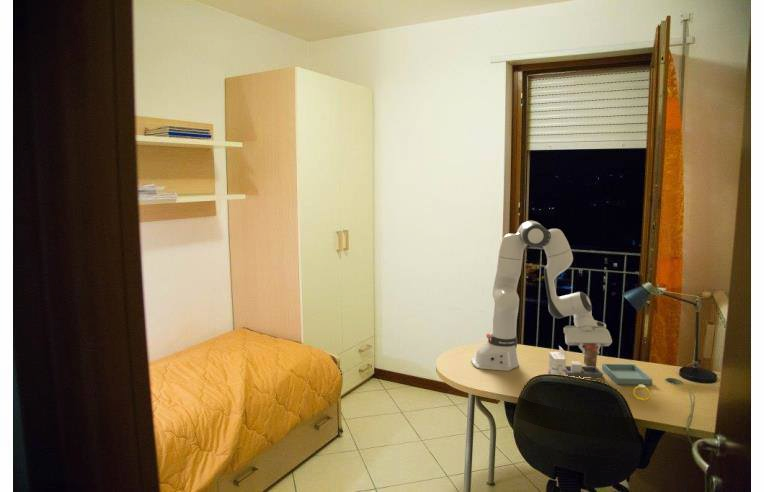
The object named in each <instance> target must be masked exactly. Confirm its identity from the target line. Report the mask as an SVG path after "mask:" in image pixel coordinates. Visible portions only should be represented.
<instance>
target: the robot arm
mask: <svg viewBox="0 0 764 492" xmlns="http://www.w3.org/2000/svg"><path fill="white" fill-rule="evenodd" d="M500 242H501V243H500V247H499V249H498V251H499V252H498V256H497V267H496V274H495V278H494V282H493V287H492V298H493V300H494V302H493V303H494V308H493V317H492V318H493V319H492V334H491V333H489V332H488V333H486V334H485V335H486V336H485V337H486V338H487V342H485V343H484V344H482V345H481V346H479V347H478V348H477V350H476V354H475V355H473V356H472V357H471V362H470V363H471V364H472V366H474V367H475V368H477V369H482V370H485V369H486V370H494V371H505V372H510V371H511V370H512V369H515V368H517V367H518V366H520V364H519V361H518V353H517V346H518V336H517V323H518V321H517V319H518V315H519V314H518V313H519V309H520V308H519V306H520V297H519V294H518V292H517V289H518V283H519V280H520V276H521V274H522V273H521V272H522V266H523V258H524V251H525V249H526V248H527V246H529V247H533V248H535V247H536V248H537V247H542V249H543V250H544V253H545V255H546V260H547V261H546V263H547V264H546V265H545V266H544V269H543V274H544V275H543V277H544V283H545V290H546V297H547V304H548V305H547V306H548V312H549V314H550V315H551V316H552V317H553V318H555V319H558V320H559V319H562V318H565V317H568V316H572V317H573V323H574V325H565V326H564V327H563V334H564V340H565V341H564V342H565V344H566V345H567V346H578V348H579V349H580V350H581V351H582V355H585V354H587V349H585V344H594V345H595V346H596V347H597V348H598V349H597V356H598V355H600V348H601V347H609V346H611V344H612V343H613V339H612V336H611V333H610V331H609V330H608V329H607V324H606V323H605V322H601V321H598V320H596V319H594V316H593V315H592V313H593V312H592V309H593V306H592V302H591V298H590V296H589V295H588V294H586V293H584V292H583V291H576V292H574V293H573V292H571V293H569V294H565V295H561V296H559V295H557V291H556V290H557V289H556V283H555V279H556V278H557V277H558V276H560V274H562V273H564V272H565V271H566V270H568V269H569V267H571V265H572V263H573V261H574V256H573V252H572V249H571V246H570V244H569V241H568V239H567V237H566V236H565V234H564V232H563V231H562V230H561V229H559V228H550V229H547V228H546V227H544V226H543V225H542V224H541V223H539V222H538V221H535V220H532V219H528V220H525V221H523V222H522V223H520V225H519V226H518V227H517V229H516V230H515V231H514V233H507V234H505V235H504V236H503V237H502V240H501V241H500Z"/></svg>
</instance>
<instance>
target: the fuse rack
mask: <svg viewBox="0 0 764 492" xmlns="http://www.w3.org/2000/svg"><path fill="white" fill-rule="evenodd" d="M569 371H571V365H566V369H565V374H566V375H568V376H575V377H579V376H580V377H581V378H583V377H591V378H603V377H604V374H603V371H601V370H600V369H599V368H598V367H597V366H596V367H594V366H586V365H582V370H581V373H580V372H569ZM566 375H565V376H566ZM581 378H580V379H581Z"/></svg>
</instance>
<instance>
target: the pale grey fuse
mask: <svg viewBox="0 0 764 492" xmlns="http://www.w3.org/2000/svg"><path fill="white" fill-rule="evenodd" d="M570 366H571V371H570V372H580V373H581V370H582V366H583V364H582V363H581V361H577V360H576V361H575V360H570Z"/></svg>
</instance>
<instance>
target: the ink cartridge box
mask: <svg viewBox="0 0 764 492" xmlns="http://www.w3.org/2000/svg"><path fill="white" fill-rule="evenodd" d="M558 348H559V349H558V350H559V351H549V353H548V355H549V356H548V374H558V375H565V369H566V366H567V357H566V356H567V355H566V351H565V350H564V349H563V348H562V347H561V346H560V345H558ZM548 374H547V375H548ZM565 376H566V375H565Z"/></svg>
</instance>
